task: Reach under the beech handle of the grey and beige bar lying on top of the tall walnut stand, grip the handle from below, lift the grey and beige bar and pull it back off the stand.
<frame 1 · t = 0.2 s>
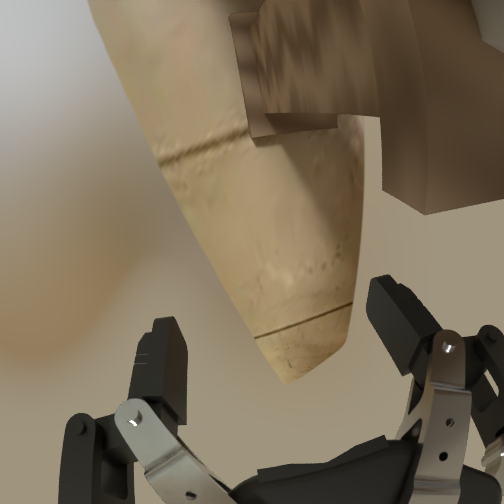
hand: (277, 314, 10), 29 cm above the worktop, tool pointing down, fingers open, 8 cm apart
stand: (284, 69, 30), on the worktop
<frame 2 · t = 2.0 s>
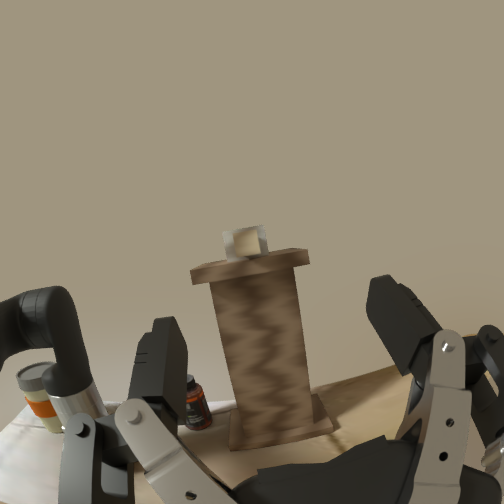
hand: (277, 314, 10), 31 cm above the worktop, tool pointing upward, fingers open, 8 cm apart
supplement bottle: (199, 423, 47), on the worktop
stand: (278, 424, 43), on the worktop
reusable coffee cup: (60, 424, 42), on the worktop
grey and beige bar: (247, 257, 42), point 32 cm above the worktop, touching stand
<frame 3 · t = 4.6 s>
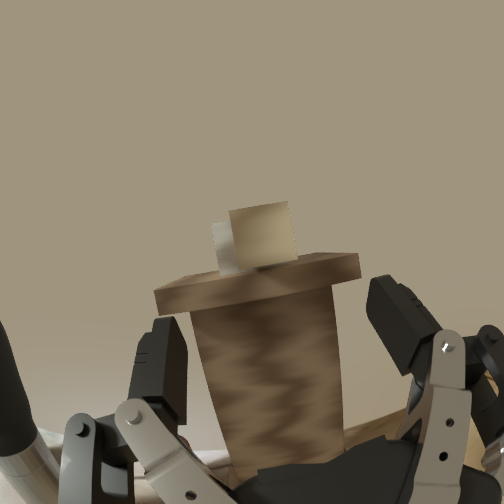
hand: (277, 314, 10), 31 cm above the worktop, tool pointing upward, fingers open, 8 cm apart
stand: (293, 488, 26), on the worktop
grey and beige bar: (253, 267, 26), point 32 cm above the worktop, touching stand
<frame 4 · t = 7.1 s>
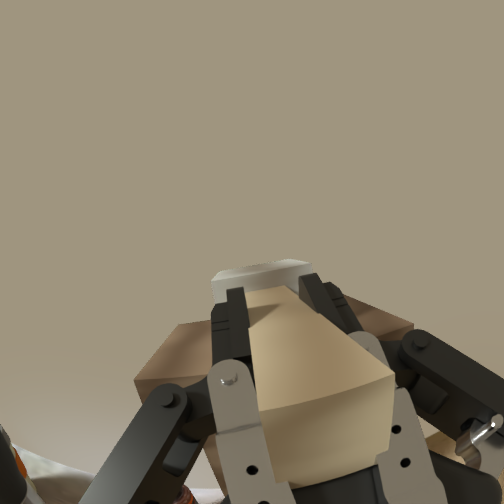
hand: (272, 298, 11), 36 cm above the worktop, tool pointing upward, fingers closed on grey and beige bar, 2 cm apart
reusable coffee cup: (21, 493, 17), on the worktop
grey and beige bar: (267, 327, 19), point 32 cm above the worktop, touching gripper, stand
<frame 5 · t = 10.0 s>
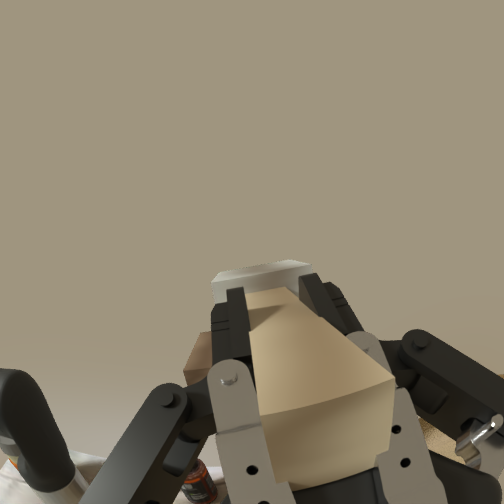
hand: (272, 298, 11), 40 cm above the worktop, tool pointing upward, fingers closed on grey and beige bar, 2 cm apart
supplement bottle: (202, 495, 32), on the worktop
stand: (294, 500, 29), on the worktop
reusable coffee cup: (49, 482, 27), on the worktop
grey and beige bar: (268, 327, 19), point 36 cm above the worktop, touching gripper
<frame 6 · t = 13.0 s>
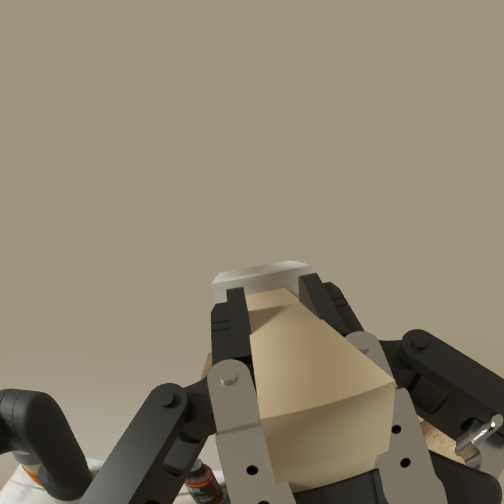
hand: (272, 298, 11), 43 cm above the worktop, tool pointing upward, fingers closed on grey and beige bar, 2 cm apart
supplement bottle: (209, 497, 35), on the worktop
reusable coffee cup: (61, 487, 29), on the worktop
grey and beige bar: (268, 328, 19), point 40 cm above the worktop, touching gripper
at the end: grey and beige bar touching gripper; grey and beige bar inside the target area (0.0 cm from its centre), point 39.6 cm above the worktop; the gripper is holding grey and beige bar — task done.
